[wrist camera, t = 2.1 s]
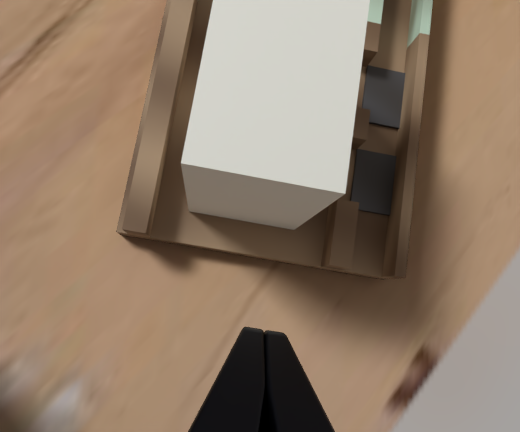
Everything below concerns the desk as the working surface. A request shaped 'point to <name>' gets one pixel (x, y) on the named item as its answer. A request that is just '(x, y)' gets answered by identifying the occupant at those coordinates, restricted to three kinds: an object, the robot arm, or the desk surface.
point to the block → (274, 109)
